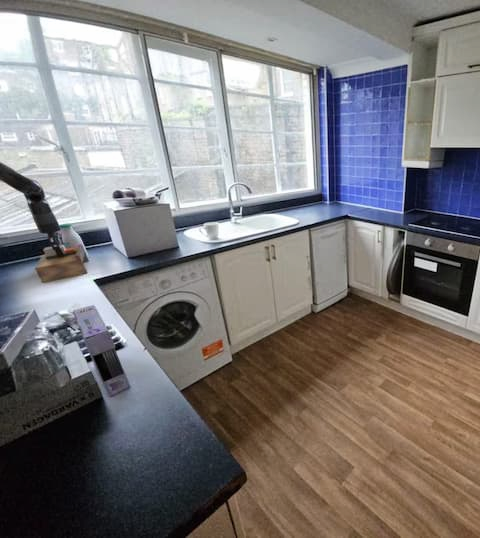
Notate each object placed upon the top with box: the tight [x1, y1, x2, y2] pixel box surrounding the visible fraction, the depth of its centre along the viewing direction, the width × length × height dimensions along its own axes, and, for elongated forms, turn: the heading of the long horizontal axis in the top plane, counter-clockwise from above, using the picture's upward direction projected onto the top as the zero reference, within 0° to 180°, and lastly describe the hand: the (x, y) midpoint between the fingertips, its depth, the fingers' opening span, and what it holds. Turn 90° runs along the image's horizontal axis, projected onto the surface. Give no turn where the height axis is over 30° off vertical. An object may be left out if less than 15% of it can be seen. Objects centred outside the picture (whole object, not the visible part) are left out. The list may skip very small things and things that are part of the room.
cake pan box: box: [72, 304, 131, 398], centre depth 74 cm, size 19×5×18 cm, turn 48°
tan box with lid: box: [34, 244, 90, 284], centre depth 147 cm, size 16×24×10 cm, turn 39°
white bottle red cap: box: [43, 244, 77, 259], centre depth 147 cm, size 11×5×5 cm, turn 129°
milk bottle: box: [59, 222, 90, 258], centre depth 161 cm, size 8×8×20 cm
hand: (61, 254), depth 148 cm, fingers open, 5 cm apart
